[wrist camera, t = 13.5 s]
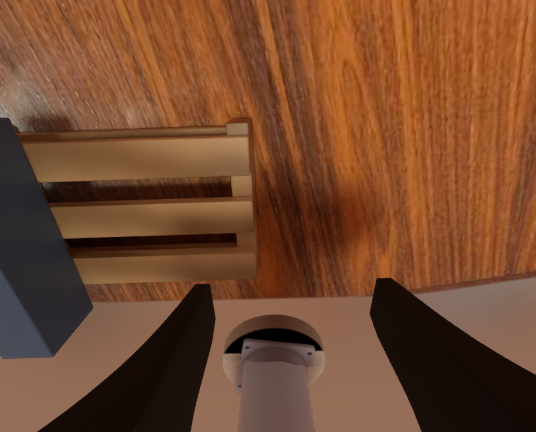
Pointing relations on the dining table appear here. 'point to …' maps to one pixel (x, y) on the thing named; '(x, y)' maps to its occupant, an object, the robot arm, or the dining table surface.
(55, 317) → the slate blue rectangular box
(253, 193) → the rack
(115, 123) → the dining table surface
